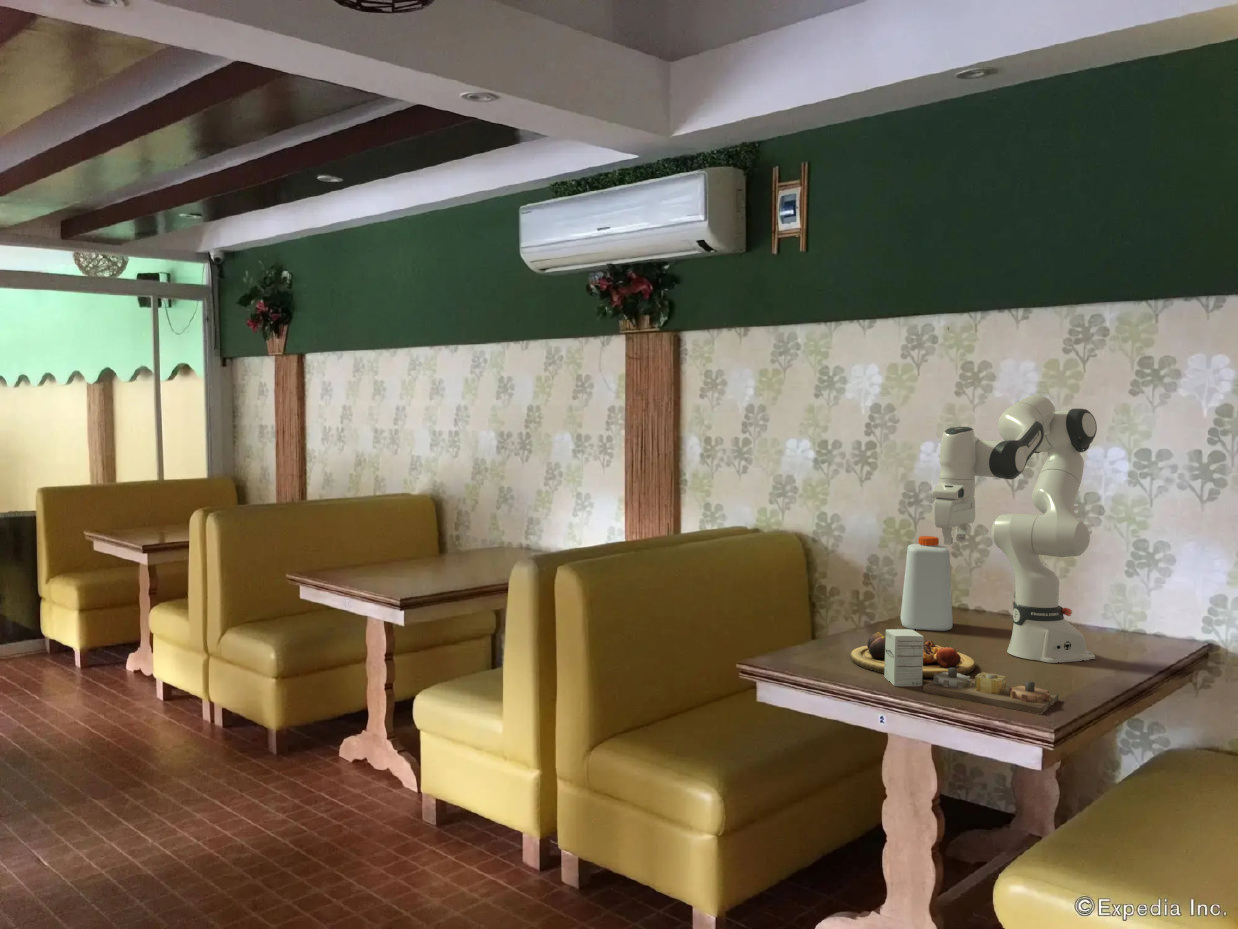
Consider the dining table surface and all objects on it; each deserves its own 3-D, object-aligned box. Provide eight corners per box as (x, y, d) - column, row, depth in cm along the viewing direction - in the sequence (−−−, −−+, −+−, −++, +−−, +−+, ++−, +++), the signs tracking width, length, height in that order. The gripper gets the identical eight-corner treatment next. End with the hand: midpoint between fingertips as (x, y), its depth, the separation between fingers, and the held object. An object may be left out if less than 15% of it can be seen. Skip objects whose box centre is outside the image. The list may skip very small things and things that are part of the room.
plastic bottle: (948, 622, 316) (951, 535, 315) (953, 632, 302) (956, 541, 300) (899, 619, 320) (902, 533, 318) (902, 629, 305) (904, 539, 303)
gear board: (944, 679, 249) (944, 660, 248) (1058, 700, 232) (1059, 679, 232) (923, 691, 238) (923, 671, 237) (1040, 714, 221) (1041, 692, 221)
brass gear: (981, 684, 239) (981, 671, 239) (1006, 689, 235) (1007, 676, 235) (972, 690, 234) (973, 676, 234) (998, 695, 231) (999, 681, 230)
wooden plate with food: (1000, 677, 253) (1001, 645, 253) (886, 682, 245) (887, 649, 245) (933, 649, 284) (934, 621, 284) (830, 653, 277) (831, 624, 276)
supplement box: (883, 678, 249) (884, 628, 249) (912, 678, 250) (913, 628, 249) (893, 686, 242) (894, 635, 241) (923, 686, 242) (924, 635, 242)
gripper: (958, 486, 267) (957, 537, 268) (930, 491, 251) (928, 545, 252) (982, 488, 263) (980, 539, 264) (954, 492, 247) (952, 547, 248)
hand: (954, 542), depth 258 cm, fingers open, 8 cm apart
